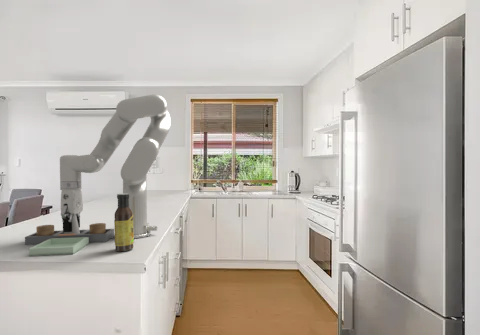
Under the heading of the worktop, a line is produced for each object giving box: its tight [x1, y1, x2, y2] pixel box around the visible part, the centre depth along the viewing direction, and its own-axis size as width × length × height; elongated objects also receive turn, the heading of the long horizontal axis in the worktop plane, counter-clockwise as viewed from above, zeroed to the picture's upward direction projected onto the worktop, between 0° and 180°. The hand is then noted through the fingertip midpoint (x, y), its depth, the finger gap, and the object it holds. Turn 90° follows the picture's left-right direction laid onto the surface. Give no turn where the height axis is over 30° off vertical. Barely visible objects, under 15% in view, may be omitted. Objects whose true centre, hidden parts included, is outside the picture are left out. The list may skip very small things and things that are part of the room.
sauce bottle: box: [113, 193, 135, 253], centre depth 109 cm, size 6×6×20 cm
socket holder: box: [24, 228, 115, 246], centre depth 124 cm, size 30×10×3 cm, turn 96°
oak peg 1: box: [35, 224, 55, 236], centre depth 123 cm, size 6×6×6 cm
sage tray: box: [28, 237, 90, 257], centre depth 111 cm, size 14×14×2 cm
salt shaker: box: [64, 213, 81, 235], centre depth 124 cm, size 6×6×13 cm
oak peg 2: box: [89, 222, 107, 234], centre depth 125 cm, size 6×6×6 cm
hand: (71, 229), depth 124 cm, fingers open, 6 cm apart
